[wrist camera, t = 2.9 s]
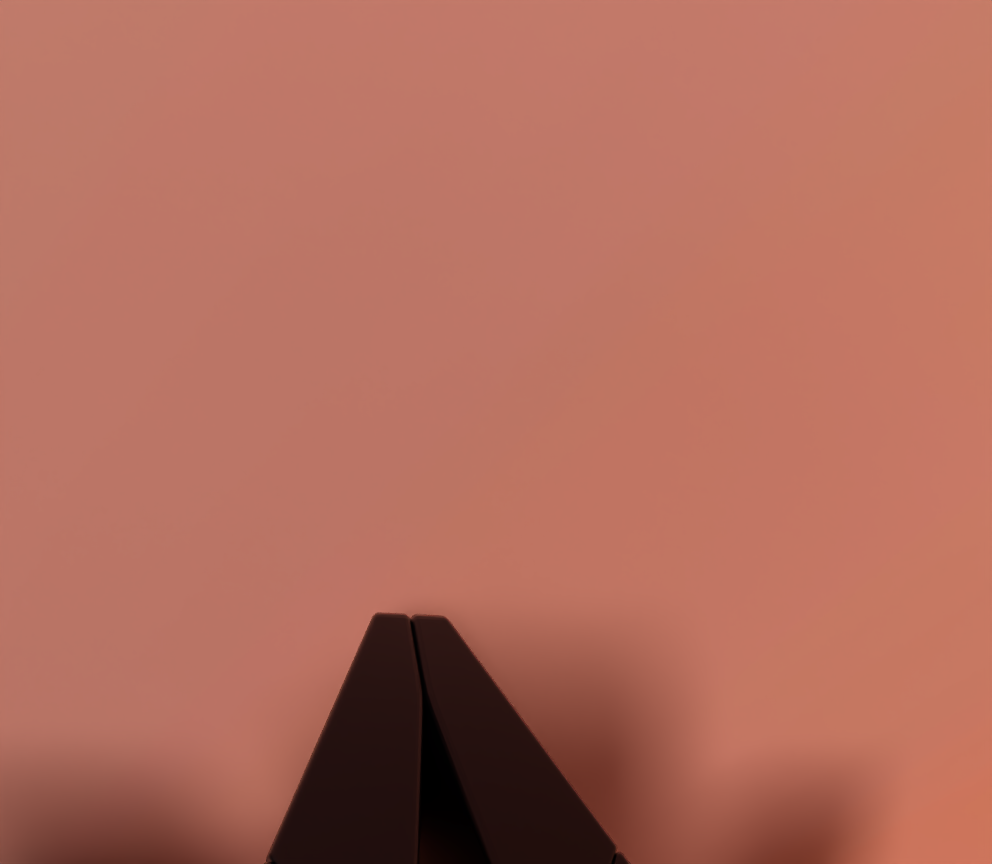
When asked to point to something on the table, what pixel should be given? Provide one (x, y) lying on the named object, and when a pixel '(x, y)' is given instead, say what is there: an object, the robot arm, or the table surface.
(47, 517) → the table surface
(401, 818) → the robot arm
